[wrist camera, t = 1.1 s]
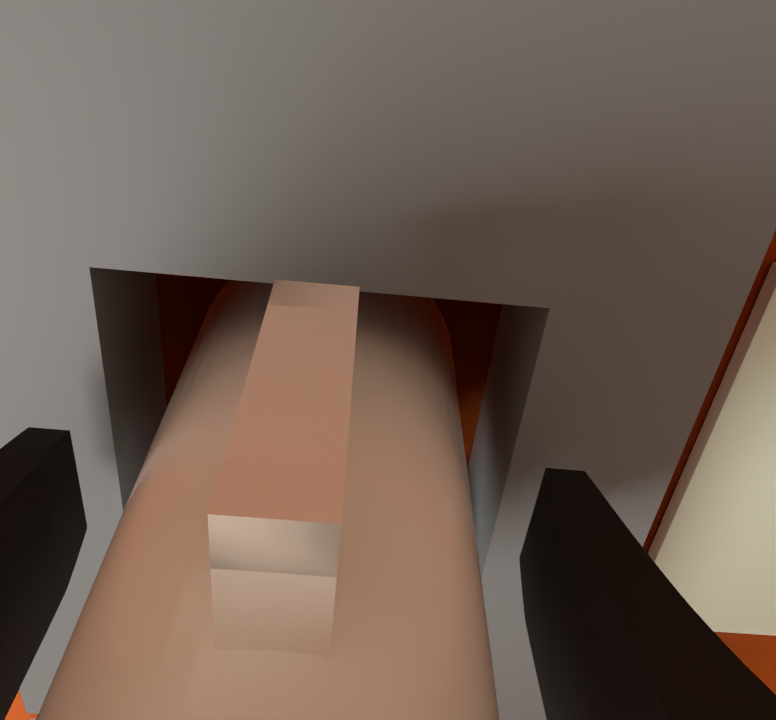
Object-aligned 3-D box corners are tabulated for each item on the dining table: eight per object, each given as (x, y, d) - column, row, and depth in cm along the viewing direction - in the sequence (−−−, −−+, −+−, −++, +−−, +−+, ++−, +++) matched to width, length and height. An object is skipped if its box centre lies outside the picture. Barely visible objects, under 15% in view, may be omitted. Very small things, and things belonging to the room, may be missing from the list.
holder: (538, 631, 19) (559, 744, 17) (75, 600, 19) (26, 713, 16) (772, -64, 11) (891, -45, 8) (-85, -166, 10) (-246, -180, 7)
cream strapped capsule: (430, 487, 17) (461, 995, 9) (206, 470, 16) (49, 979, 9) (485, 174, 13) (626, 620, 5) (190, 144, 12) (-124, 570, 5)
